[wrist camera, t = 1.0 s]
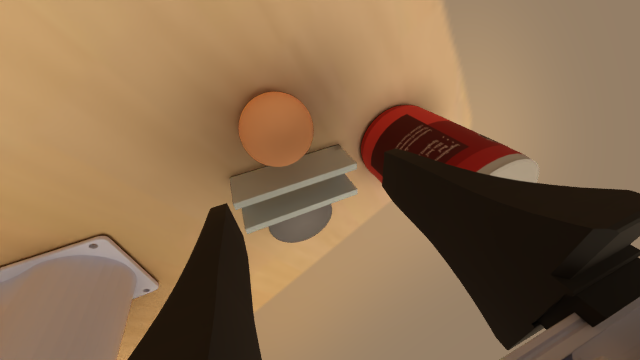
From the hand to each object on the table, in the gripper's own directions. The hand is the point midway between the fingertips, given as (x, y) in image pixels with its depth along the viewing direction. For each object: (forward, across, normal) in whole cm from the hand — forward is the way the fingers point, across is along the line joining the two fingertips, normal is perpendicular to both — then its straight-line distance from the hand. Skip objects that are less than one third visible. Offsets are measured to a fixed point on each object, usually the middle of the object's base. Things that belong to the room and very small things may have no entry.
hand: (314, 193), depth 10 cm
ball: (+10, 0, 0) cm, 10 cm away
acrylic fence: (+10, 0, +6) cm, 12 cm away
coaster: (+10, 0, +12) cm, 15 cm away
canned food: (+10, -12, +6) cm, 16 cm away
